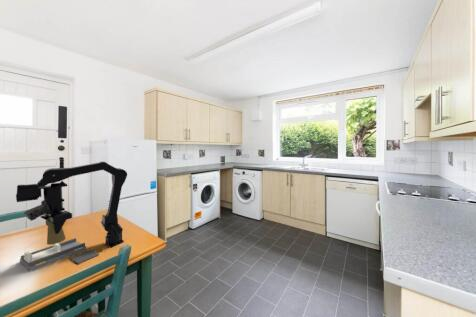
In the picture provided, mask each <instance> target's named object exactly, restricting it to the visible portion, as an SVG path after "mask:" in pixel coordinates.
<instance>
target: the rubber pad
mask: <svg viewBox="0 0 476 317" xmlns="http://www.w3.org/2000/svg"><path fill="white" fill-rule="evenodd" d="M99 256H100V254H99V253H98V252H96V251H94V250H92V249H86V250H84V251H81V252H79V253H76V254H74V255H71V256H69V259H70V260H71V261H72V262H74V263H76V264H77V265H80V264H82V263H84V262H87V261H90V260H92V259H94V258H97V257H99Z"/></svg>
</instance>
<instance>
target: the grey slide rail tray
mask: <svg viewBox="0 0 476 317" xmlns="http://www.w3.org/2000/svg"><path fill="white" fill-rule="evenodd" d="M58 244H60V246H61V251H59V252H57V253H54V254H51V255H48V256H46V257H43V258H40V259H37V260H35V261H32V262H29V263H28V262H26V261H25V260H24V257H25V254H23V255H21V256H20V259H19V263H20V264H21V265H22V266H23V267H24V268H26V269H27V270H29V271H30V272H33V271H35V270H39V269H41V268H43V267H46V266H48V265H51V264H53V263H56V262H58V261H61V260H63V259H66V258H70V257H72V256H75V255H77V254H80V253H82V252H85V251H87V246H86V243H85V242H82V243H80V242H78V241H77V238H76V237H74V238H72V239H71V238H70V239H69V240H64V241H62V242H59V243H58ZM50 248H53V245H51V246H50V245H49V246H47V247H45V248H41V249H39V250H35V251H32V252H30V253H31V254H32V255H33V254H36V253H38V252H41V251H44V250H47V249H50Z"/></svg>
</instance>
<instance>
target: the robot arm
mask: <svg viewBox="0 0 476 317" xmlns="http://www.w3.org/2000/svg"><path fill="white" fill-rule="evenodd" d="M98 171H99V172H100V171H104V172H107V173H108V174H110V175H111V183H112V187H111V192H110V198H109V203H108V206H107V207H108V208H107V212H106V214H105V215H104V214H102V215H101V217H102V218H101V219H102V220H101V221H100V224H101V225H102V227H103V229H104V231H105V232H106V235H105V242H104V245H106V246H109V247H111V248H113V247H115V246H117V245H120V244H122V243H124V242H125V241H124V240H123V230H124V228H123V227H122V225H120V224H119V219H118V209H119V204H120V198H121V193H122V187H123V185H124V184H125V182H126V180H127V177H128V172H127V170H125V169H122V168H117V167H115V166H113V165H111V164H109V163H108V162H106V161H99V162H95V163H89V164H83V165H78V166H74V167H73V166H72V167H56V168H55V167H53V168H48V169H46V170H45V171H44V172H43V174H42V178H41V179H40V180H38V182H37V183H29V184H18V185H17V186H16V194H15V198H16V203H22V202H30V201H36V200H39V199H40V198H42V190H43V200H41V202H40V203H41V204H40V205H37V206H35V207H32V208H30V209H27V210H26V211H23V214H24V216H25V217H26V218H27V220H30V221H34V220H36V219H37V218H41V219H43V220H45V221H46V220H47V219H48V218H50V220H48V221H49V222H51V223H52V224H53V227H54V231H55V234H58V233H59V232H60V230H61V228H63V226H64V225H65V223H66V221H67V220H71V219H72V218H73V213H72V212H70V211H67V210H66V209H65V207H64V206H63V203H64V202H65V198H63V187H64V188H65V187H68V184H67V183H66V182H65V180H66V179H69V178H72V177H74V176H80V175H85V174H90V173H93V172H98Z"/></svg>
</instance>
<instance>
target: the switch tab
mask: <svg viewBox="0 0 476 317" xmlns="http://www.w3.org/2000/svg"><path fill="white" fill-rule="evenodd" d="M52 246H53V248H50V249H47V250H44V251H41V252H38V253H36V254H33V255H32V254H31V253H32V252H30V251H24V252H23V255H25V257H24V260H25V261H26V262H28V263H29V262H32V261H35V260H37V259H40V258H43V257H46V256H48V255H51V254H54V253H57V252H59V251H61V246H60V244H59V243H56V244H52Z"/></svg>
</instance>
